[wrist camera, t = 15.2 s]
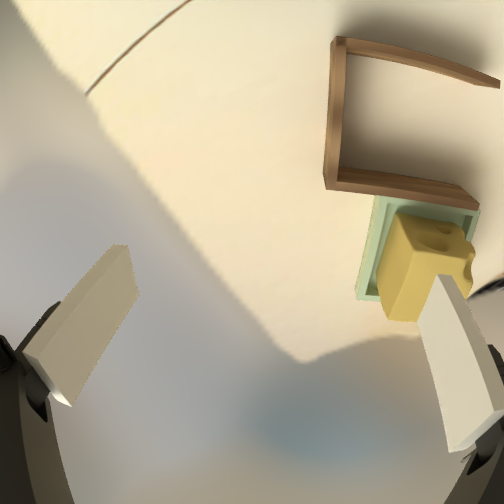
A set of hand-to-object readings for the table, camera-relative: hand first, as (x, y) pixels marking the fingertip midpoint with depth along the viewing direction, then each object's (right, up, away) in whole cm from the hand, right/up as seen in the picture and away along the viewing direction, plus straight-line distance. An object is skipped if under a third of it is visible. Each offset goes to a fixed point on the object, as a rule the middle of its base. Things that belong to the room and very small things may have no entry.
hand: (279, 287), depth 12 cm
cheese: (+21, +2, +26) cm, 34 cm away
